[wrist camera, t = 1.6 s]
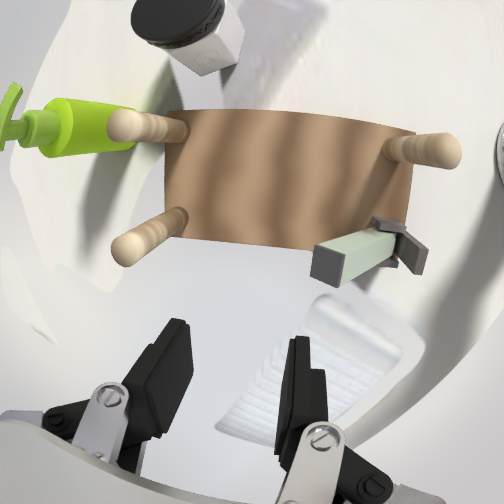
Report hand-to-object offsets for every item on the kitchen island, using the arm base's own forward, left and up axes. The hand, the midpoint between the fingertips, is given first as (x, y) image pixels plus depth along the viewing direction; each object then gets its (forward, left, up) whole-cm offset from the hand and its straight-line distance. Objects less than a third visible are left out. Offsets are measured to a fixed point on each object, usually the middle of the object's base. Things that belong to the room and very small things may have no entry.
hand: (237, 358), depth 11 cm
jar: (+9, -22, -24) cm, 33 cm away
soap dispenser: (+20, -12, -24) cm, 33 cm away
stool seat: (-1, -5, -23) cm, 24 cm away
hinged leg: (-8, 0, -17) cm, 18 cm away
